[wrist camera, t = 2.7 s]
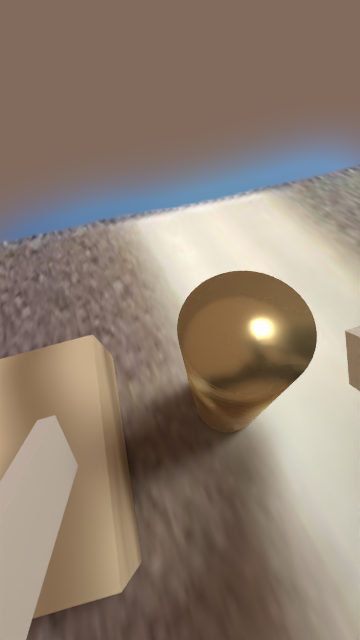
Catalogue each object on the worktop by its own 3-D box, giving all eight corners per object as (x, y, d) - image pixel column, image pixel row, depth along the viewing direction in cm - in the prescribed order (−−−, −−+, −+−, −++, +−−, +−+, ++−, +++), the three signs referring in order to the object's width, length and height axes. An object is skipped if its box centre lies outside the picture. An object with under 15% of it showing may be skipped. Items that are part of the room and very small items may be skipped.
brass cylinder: (245, 360, 19) (281, 257, 10) (268, 422, 17) (343, 371, 8) (187, 376, 19) (164, 288, 10) (204, 440, 17) (198, 412, 8)
